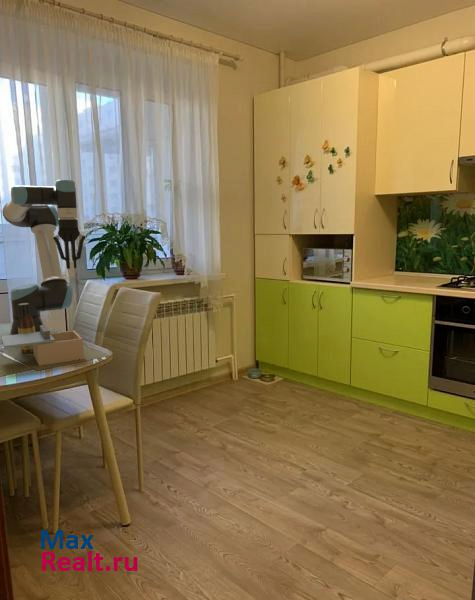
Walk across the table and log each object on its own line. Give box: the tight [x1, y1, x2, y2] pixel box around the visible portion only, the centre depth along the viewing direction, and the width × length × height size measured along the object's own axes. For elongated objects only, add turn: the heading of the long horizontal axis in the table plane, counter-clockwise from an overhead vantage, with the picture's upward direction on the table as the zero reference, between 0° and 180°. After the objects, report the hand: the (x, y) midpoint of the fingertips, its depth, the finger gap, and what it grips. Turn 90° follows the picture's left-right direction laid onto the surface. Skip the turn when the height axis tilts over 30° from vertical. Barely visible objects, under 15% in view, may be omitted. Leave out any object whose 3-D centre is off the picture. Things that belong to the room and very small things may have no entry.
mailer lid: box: [0, 324, 55, 349], centre depth 176 cm, size 17×17×4 cm
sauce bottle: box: [18, 303, 35, 354], centre depth 190 cm, size 7×6×20 cm
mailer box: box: [32, 329, 85, 367], centre depth 182 cm, size 16×16×8 cm
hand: (72, 276), depth 196 cm, fingers closed
